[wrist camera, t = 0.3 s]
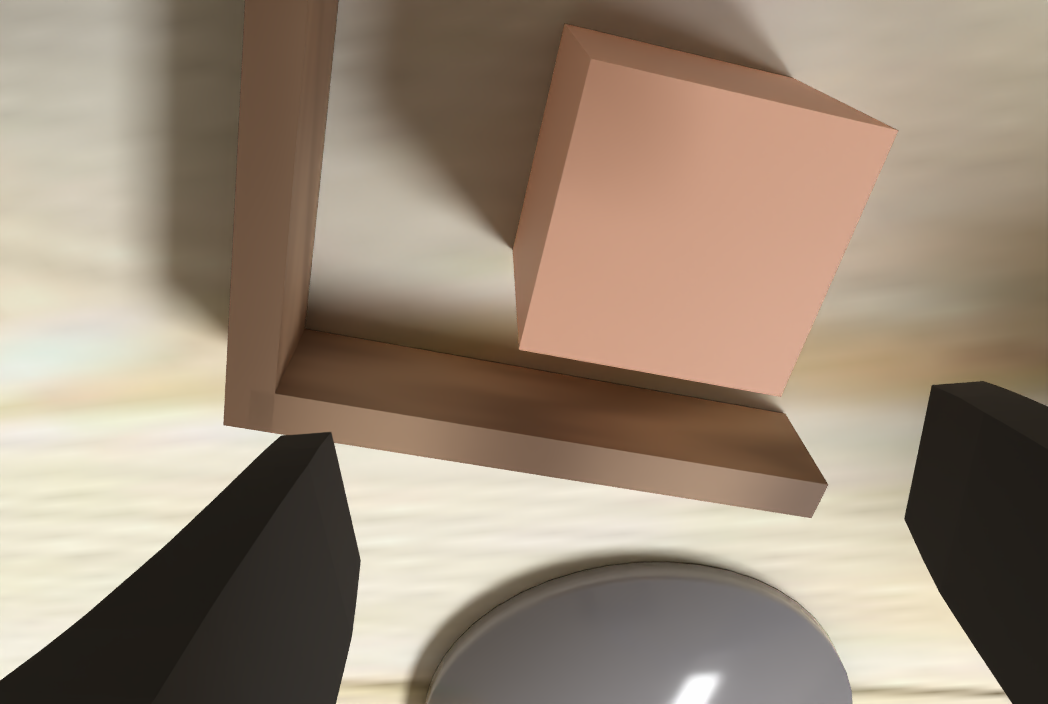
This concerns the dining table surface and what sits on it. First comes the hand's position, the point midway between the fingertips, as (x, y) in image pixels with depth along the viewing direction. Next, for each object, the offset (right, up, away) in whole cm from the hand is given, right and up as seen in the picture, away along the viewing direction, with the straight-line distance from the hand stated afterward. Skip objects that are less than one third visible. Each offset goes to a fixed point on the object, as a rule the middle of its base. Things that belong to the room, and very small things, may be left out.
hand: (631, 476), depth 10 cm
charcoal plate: (+2, -11, +17) cm, 20 cm away
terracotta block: (+1, +6, +8) cm, 10 cm away
